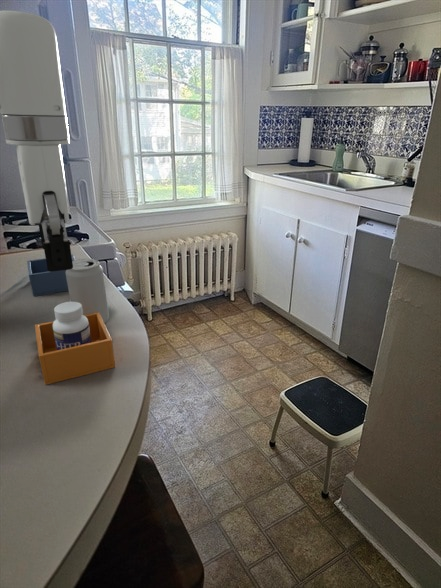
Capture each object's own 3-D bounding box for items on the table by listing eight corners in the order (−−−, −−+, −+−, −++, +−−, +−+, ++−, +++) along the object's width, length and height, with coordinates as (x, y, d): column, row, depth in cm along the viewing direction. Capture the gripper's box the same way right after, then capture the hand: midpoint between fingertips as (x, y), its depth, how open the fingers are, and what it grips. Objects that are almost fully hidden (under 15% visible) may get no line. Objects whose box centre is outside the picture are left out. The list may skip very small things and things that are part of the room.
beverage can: (108, 329, 72) (99, 268, 67) (71, 332, 71) (60, 270, 66) (111, 313, 78) (103, 256, 73) (77, 315, 77) (67, 258, 72)
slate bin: (33, 296, 85) (28, 275, 83) (31, 280, 93) (26, 260, 91) (82, 288, 89) (78, 267, 87) (75, 273, 98) (72, 254, 95)
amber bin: (45, 385, 57) (38, 356, 55) (40, 350, 66) (34, 324, 63) (115, 367, 61) (111, 339, 59) (102, 337, 70) (99, 312, 68)
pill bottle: (52, 364, 61) (42, 314, 57) (66, 346, 66) (58, 299, 62) (86, 366, 61) (77, 315, 57) (97, 347, 65) (90, 300, 62)
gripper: (4, 128, 55) (26, 244, 62) (2, 135, 41) (31, 284, 48) (61, 128, 58) (76, 239, 65) (77, 135, 44) (94, 275, 51)
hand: (57, 258), depth 57 cm, fingers open, 9 cm apart
